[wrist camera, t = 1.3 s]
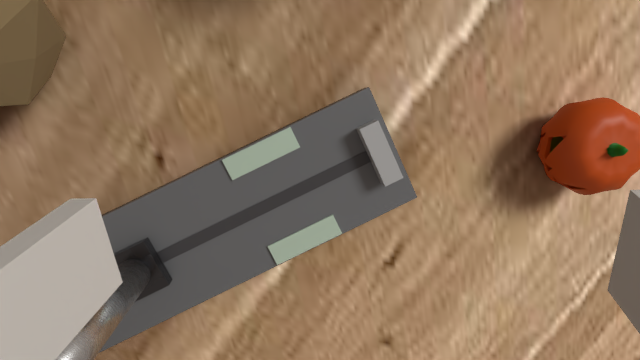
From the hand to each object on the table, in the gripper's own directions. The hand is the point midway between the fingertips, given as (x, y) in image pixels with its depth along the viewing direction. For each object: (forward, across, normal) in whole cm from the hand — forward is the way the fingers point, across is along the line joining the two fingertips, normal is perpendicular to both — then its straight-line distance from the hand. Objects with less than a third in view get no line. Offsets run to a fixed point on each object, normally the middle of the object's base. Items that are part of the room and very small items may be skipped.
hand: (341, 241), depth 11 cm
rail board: (+22, -12, -11) cm, 28 cm away
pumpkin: (+30, +17, -8) cm, 36 cm away
